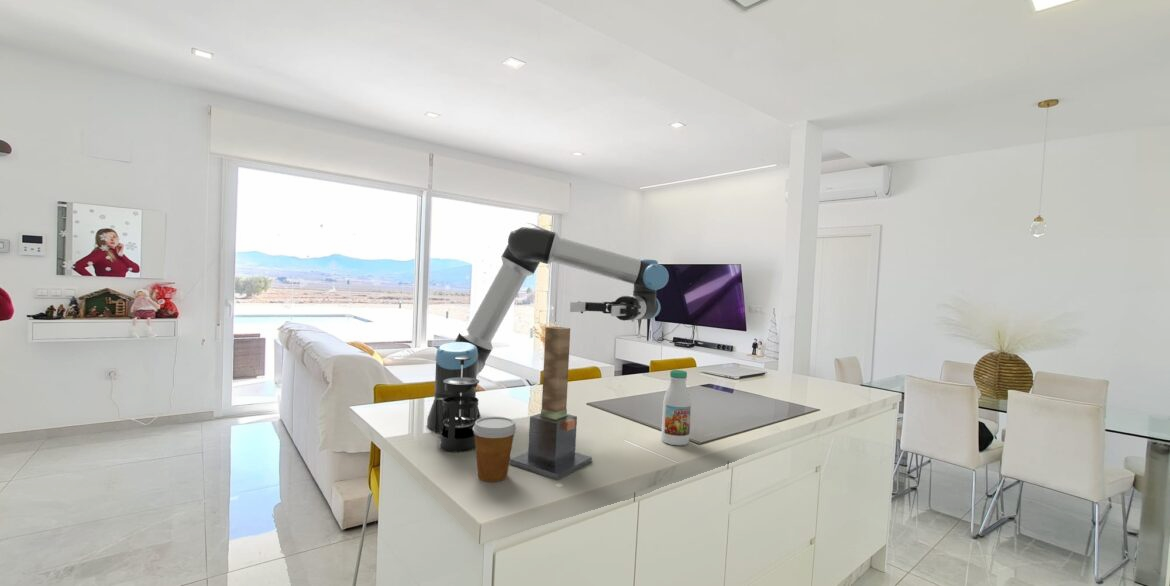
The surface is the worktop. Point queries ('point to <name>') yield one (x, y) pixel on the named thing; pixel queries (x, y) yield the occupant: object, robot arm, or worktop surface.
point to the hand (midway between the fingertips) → (591, 309)
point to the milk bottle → (676, 410)
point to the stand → (552, 448)
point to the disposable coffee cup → (493, 447)
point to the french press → (459, 427)
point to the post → (555, 373)
